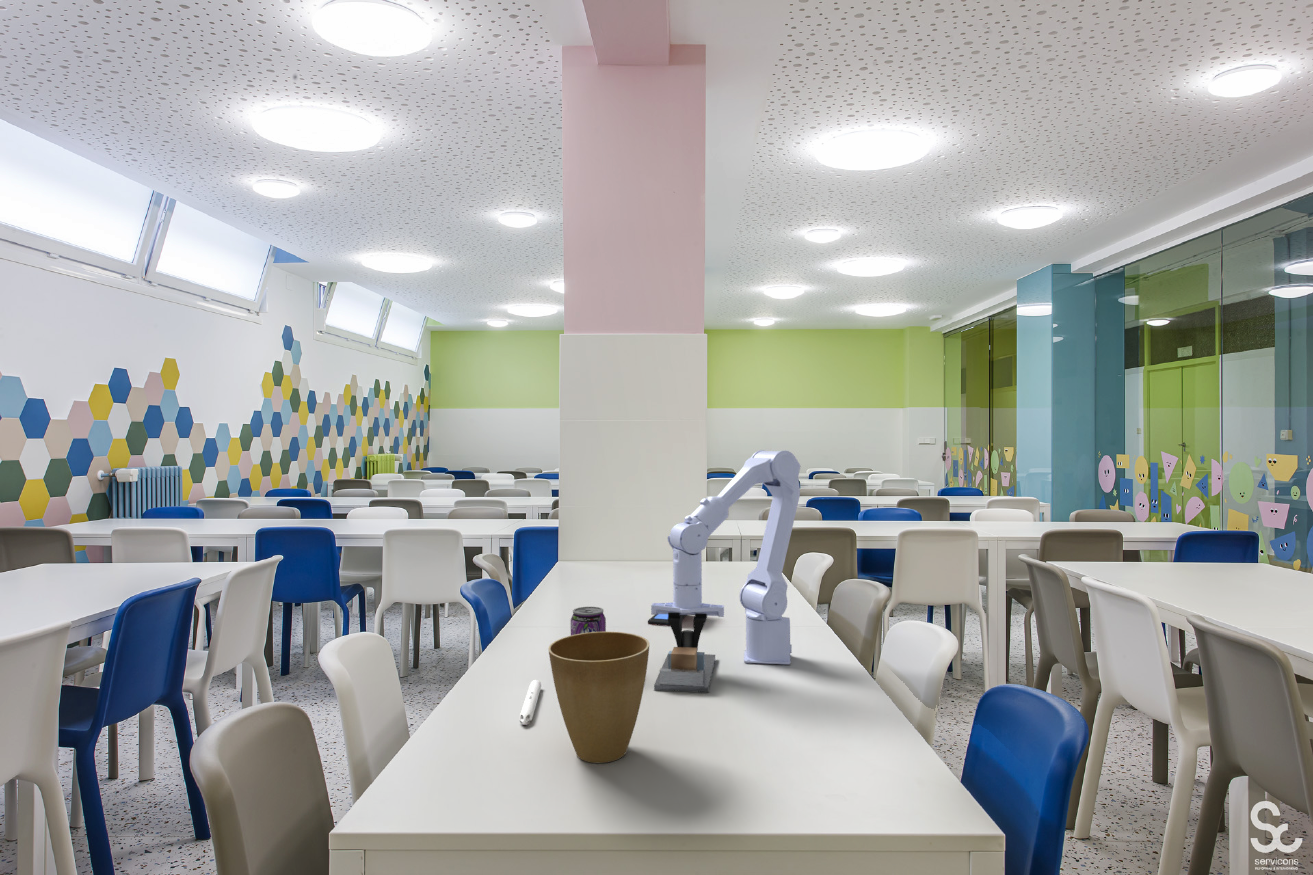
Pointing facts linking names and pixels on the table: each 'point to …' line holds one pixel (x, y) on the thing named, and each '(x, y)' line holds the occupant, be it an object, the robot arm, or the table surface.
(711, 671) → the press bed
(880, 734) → the table surface
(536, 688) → the marker
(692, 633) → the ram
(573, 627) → the beverage can
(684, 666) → the brown block
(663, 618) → the handheld game console
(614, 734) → the plant pot
